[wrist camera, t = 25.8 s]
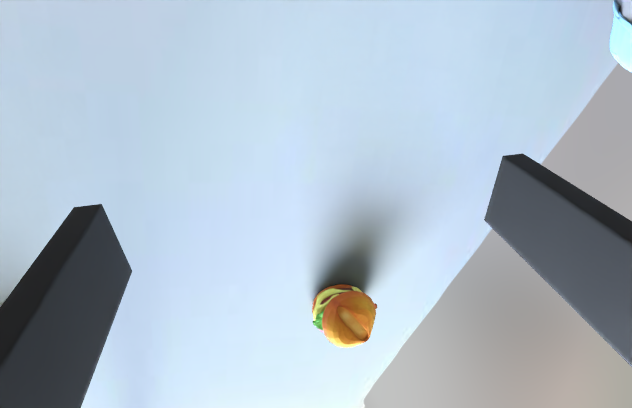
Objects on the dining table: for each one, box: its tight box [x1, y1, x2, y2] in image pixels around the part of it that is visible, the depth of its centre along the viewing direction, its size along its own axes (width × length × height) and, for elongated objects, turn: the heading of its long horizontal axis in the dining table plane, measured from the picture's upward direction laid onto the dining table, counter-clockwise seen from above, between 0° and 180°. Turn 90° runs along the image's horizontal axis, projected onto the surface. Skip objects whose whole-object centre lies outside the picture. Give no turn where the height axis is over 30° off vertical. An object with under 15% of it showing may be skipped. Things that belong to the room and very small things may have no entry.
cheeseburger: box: [312, 284, 377, 348], centre depth 57 cm, size 10×11×10 cm
